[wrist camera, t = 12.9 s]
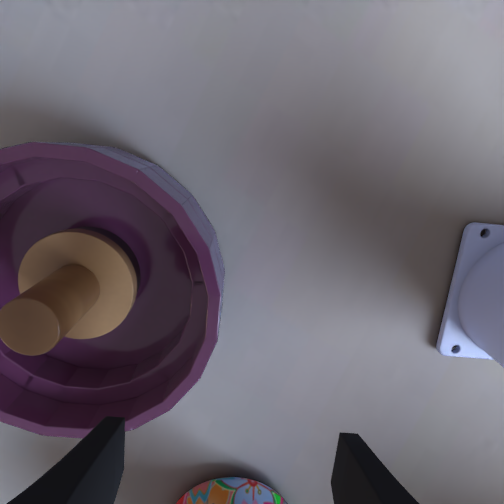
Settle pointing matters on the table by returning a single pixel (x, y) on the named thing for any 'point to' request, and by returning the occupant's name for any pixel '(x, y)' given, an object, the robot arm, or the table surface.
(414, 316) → the table surface
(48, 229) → the bowl
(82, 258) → the pot brush
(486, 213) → the table surface
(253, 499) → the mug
